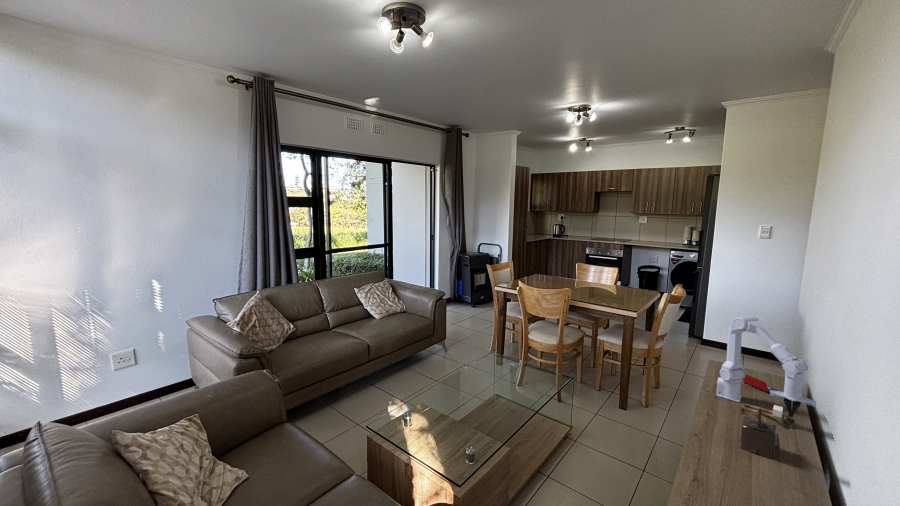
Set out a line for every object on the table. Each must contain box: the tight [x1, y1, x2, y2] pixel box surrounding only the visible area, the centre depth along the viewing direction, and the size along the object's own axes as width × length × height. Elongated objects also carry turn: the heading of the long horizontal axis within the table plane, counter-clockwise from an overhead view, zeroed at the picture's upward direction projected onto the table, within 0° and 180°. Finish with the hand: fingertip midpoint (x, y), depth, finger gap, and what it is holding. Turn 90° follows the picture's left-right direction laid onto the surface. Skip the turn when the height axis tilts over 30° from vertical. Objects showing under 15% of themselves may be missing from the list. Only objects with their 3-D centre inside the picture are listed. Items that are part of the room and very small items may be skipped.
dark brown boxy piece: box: [739, 407, 796, 459], centre depth 142 cm, size 16×11×18 cm
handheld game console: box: [742, 373, 779, 395], centre depth 193 cm, size 12×11×7 cm
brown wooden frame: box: [740, 402, 789, 427], centre depth 166 cm, size 16×6×3 cm, turn 44°
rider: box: [772, 404, 784, 418], centre depth 162 cm, size 3×5×5 cm, turn 134°
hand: (790, 415), depth 159 cm, fingers closed
